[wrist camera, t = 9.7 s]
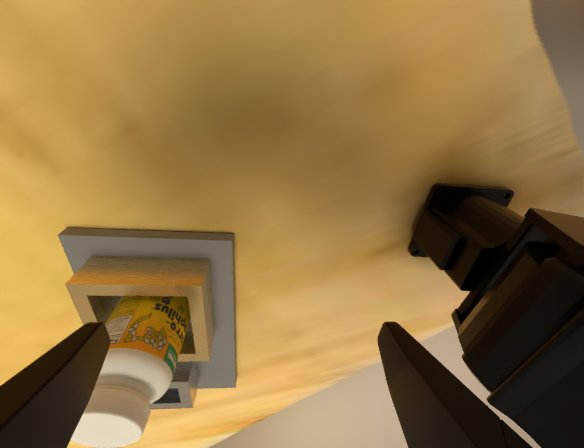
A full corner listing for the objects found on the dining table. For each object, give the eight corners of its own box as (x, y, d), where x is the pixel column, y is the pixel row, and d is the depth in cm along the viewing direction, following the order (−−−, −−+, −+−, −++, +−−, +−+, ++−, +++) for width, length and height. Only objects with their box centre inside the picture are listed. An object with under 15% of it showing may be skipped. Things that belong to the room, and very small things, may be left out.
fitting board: (233, 233, 21) (232, 240, 20) (236, 378, 31) (235, 387, 30) (67, 227, 19) (57, 234, 19) (126, 381, 29) (122, 390, 28)
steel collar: (196, 350, 26) (188, 381, 24) (199, 376, 28) (192, 407, 26) (147, 351, 26) (134, 383, 23) (155, 377, 28) (144, 409, 25)
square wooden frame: (209, 258, 21) (201, 285, 18) (215, 330, 25) (209, 361, 22) (91, 255, 20) (65, 283, 17) (118, 331, 24) (100, 363, 21)
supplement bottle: (113, 286, 21) (14, 424, 13) (171, 263, 21) (106, 394, 12) (155, 325, 24) (96, 461, 16) (208, 306, 23) (174, 438, 15)
